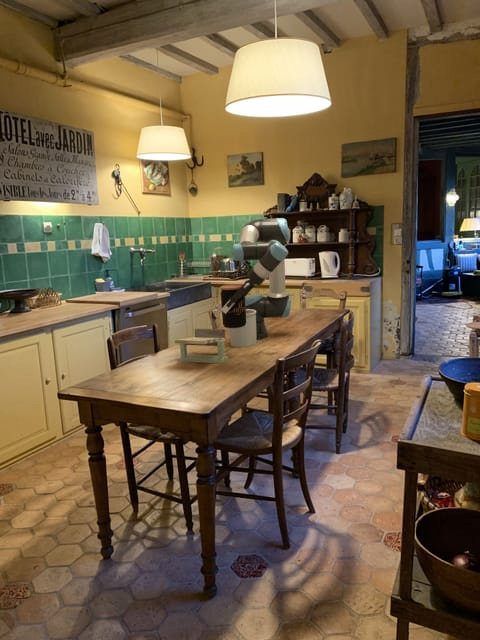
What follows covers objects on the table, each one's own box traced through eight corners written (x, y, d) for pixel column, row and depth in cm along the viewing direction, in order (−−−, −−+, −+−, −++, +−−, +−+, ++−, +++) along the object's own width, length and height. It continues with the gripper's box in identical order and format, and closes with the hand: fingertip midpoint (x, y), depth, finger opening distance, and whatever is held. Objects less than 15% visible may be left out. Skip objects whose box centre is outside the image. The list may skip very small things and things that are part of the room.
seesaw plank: (196, 343, 247) (196, 328, 247) (227, 344, 242) (227, 329, 242) (172, 347, 221) (173, 331, 221) (206, 348, 216) (206, 331, 216)
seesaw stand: (184, 356, 241) (183, 337, 239) (227, 358, 234) (226, 338, 232) (177, 361, 233) (176, 341, 231) (221, 363, 226) (220, 342, 224)
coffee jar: (226, 329, 216) (223, 288, 212) (220, 325, 226) (217, 286, 222) (249, 326, 218) (247, 286, 215) (242, 322, 228) (240, 283, 225)
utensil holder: (255, 347, 251) (253, 313, 248) (226, 347, 254) (224, 314, 251) (259, 340, 266) (258, 308, 262) (232, 340, 269) (231, 309, 265)
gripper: (258, 282, 203) (225, 320, 210) (271, 276, 224) (241, 310, 232) (245, 270, 203) (212, 308, 211) (259, 265, 225) (229, 299, 233)
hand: (227, 309), depth 221 cm, fingers closed on coffee jar, 11 cm apart
